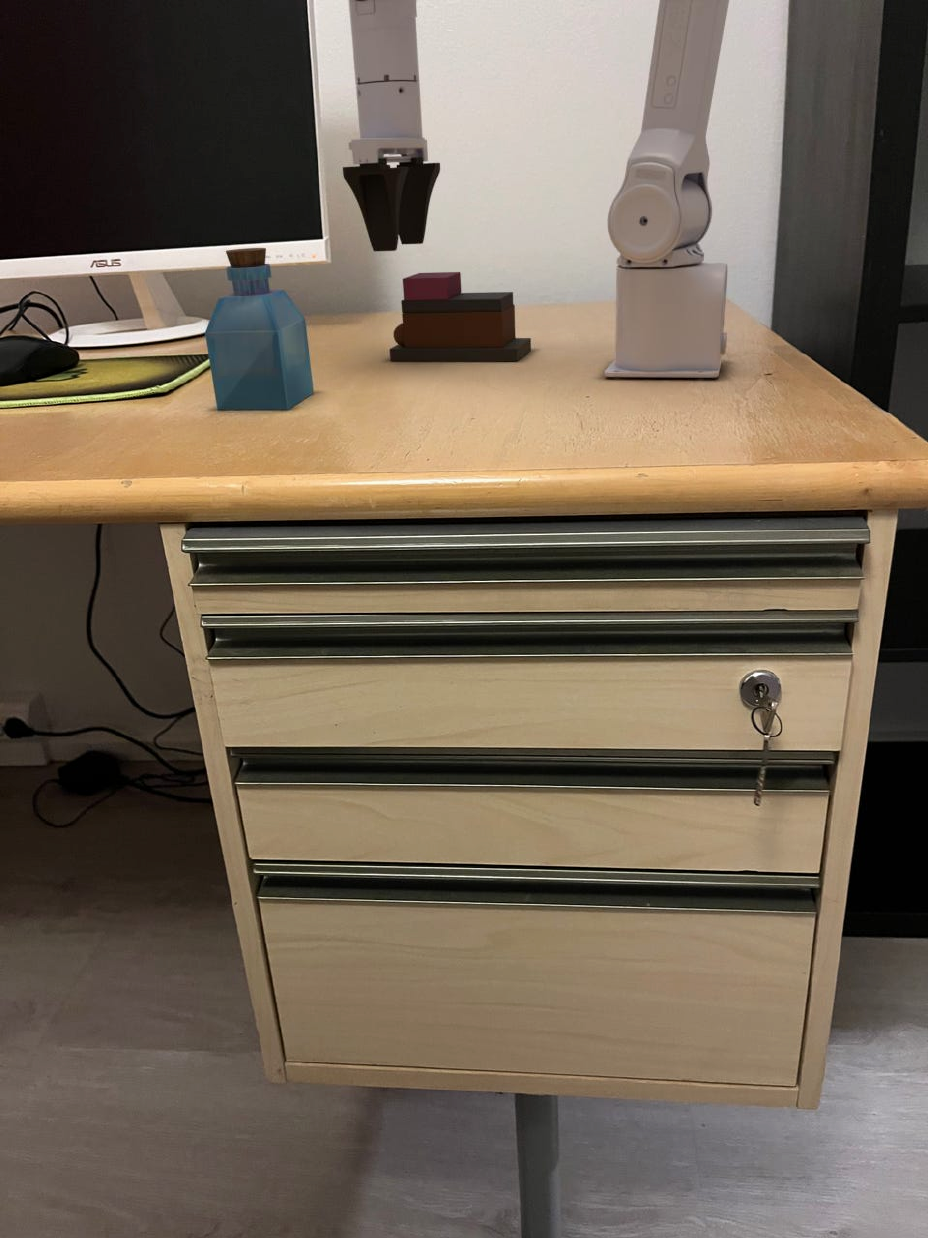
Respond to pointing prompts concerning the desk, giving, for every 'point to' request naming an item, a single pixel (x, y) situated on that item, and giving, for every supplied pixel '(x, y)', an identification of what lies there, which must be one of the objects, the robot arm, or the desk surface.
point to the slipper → (448, 295)
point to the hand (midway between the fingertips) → (399, 247)
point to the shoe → (459, 337)
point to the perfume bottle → (257, 341)
